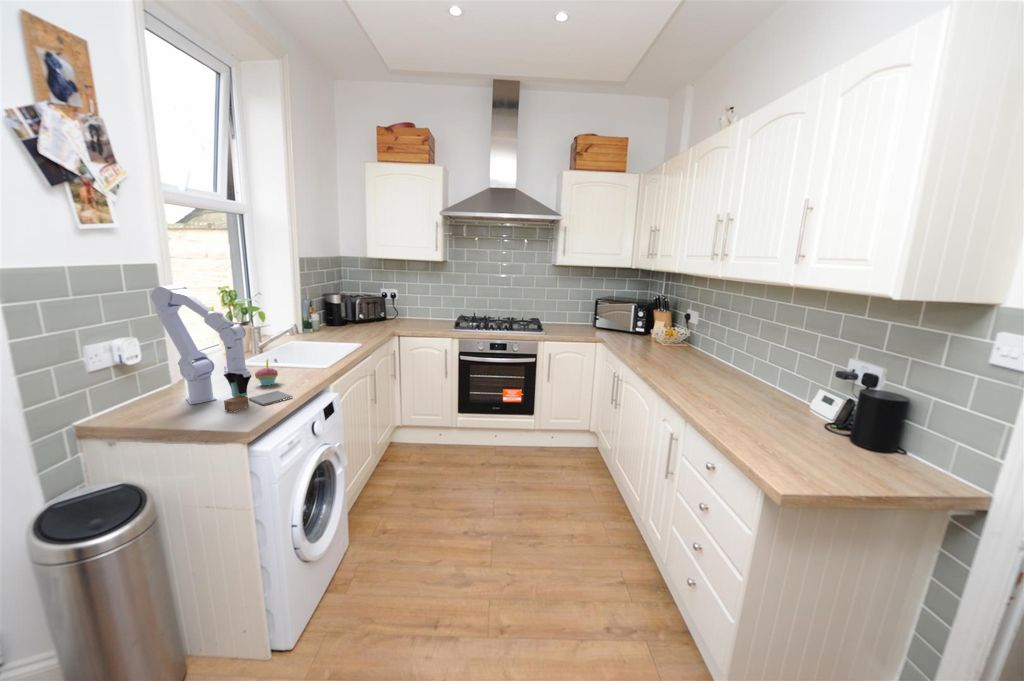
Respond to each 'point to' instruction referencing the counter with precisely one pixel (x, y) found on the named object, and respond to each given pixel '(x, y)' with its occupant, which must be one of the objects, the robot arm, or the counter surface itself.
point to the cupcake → (266, 375)
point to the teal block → (236, 390)
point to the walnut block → (236, 403)
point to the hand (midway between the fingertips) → (239, 392)
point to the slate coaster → (269, 397)
